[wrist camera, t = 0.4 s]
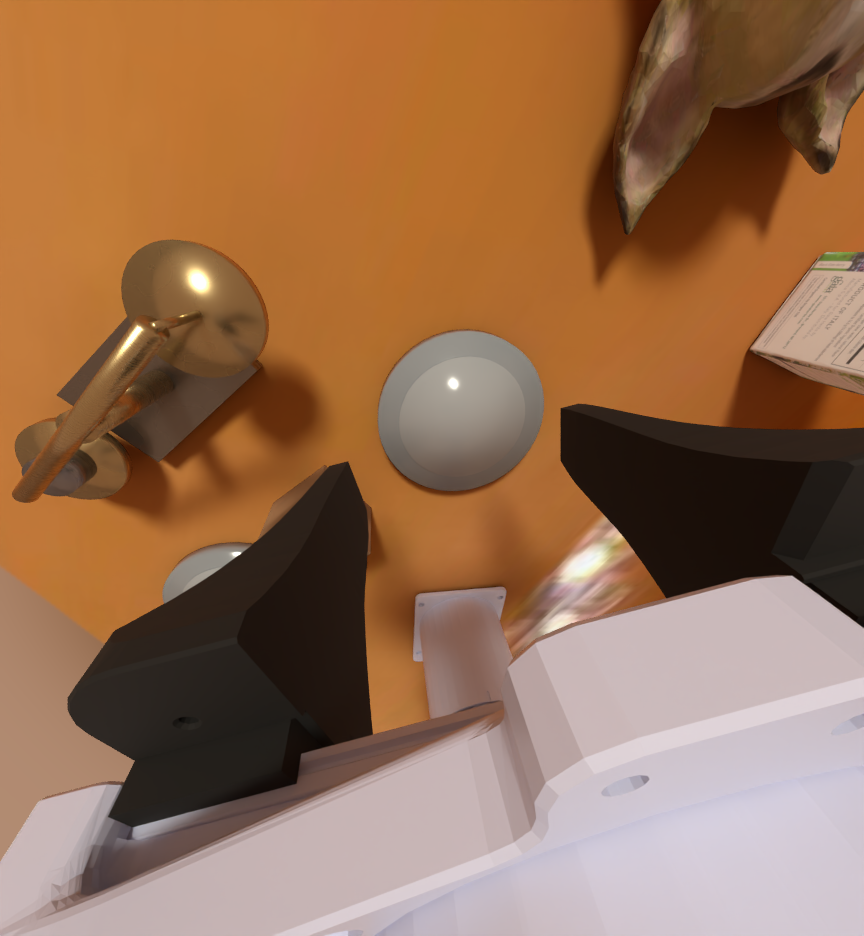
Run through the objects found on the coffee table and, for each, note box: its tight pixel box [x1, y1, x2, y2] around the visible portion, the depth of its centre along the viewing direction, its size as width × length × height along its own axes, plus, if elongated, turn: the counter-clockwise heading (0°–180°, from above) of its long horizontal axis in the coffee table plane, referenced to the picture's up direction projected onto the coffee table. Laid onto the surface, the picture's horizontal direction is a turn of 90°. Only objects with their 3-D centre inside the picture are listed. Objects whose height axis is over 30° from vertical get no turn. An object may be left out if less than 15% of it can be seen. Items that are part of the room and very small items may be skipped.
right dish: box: [378, 329, 544, 491], centre depth 21 cm, size 10×10×1 cm
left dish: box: [163, 543, 252, 604], centre depth 26 cm, size 10×10×1 cm
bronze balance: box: [12, 240, 269, 503], centre depth 14 cm, size 16×5×8 cm, turn 127°
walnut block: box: [259, 465, 371, 556], centre depth 21 cm, size 4×4×4 cm
